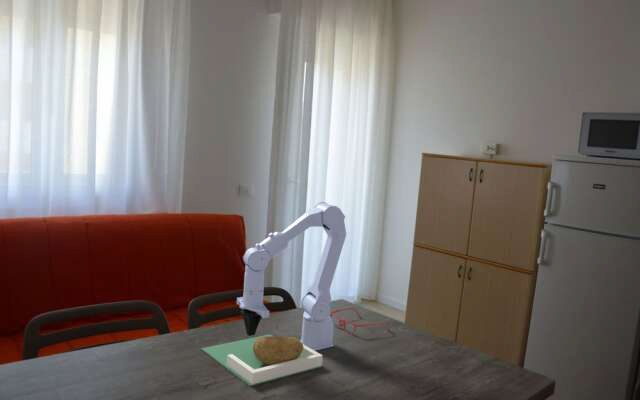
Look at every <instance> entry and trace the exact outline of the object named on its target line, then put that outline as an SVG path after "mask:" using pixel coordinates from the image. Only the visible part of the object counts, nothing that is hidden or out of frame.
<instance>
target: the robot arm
mask: <svg viewBox="0 0 640 400" xmlns="http://www.w3.org/2000/svg"><path fill="white" fill-rule="evenodd" d="M345 219H346V216H345V214H344V213H343V211H342V210H341V208H339V207H338V206H336V205H331V204H329V203H327V202H325V201H321V202H317V203H316V204H315V205H314V206H311V207H310V208H309V209H308V210H306V212H305V213H304V214H302V215H301V216H300V217H299V218H298V219H297V220H295V221H293V222H292V223H291V224H290V225H289V226H288V227H286V228H285V229H284V230H283V231H274V232H270V233H268V234H267V236H268V237H267V238H264V240H262V241H261V242H260V243H258V242H257V243H256V244H255V247H250V248H248V249H247V250H246V251H245V253H244V254H243V255H242V260H243V262H244V264H245V267H244V271H245V272H244V276H243V277H244V279H243V281H244V282H243V295H242V296H240V297H236V305H239V308H240V309H241V310H240V311H239V312H240V314H241V317H242V319H243V322H244V326H245V331H246V335H247V336H249V337H250V336H255V335H256V333H257V329H258V326H259V324H260V321H261V320H262V319H266V318H267V319H268V318H270V310H268V308H267V307H266V306H265V305H264V288H265V269H266V268H268V267H267V266H268V264H269V263H270V261H271V260H273V259H274V258H275V257H276V256H278V255H280V254H281V253H282V252H283V251H284V250H286V249H287V248H288V245H289V242H290V241H291V240H293V239H294V238H296V237H297V236H299V235H301V234H302V233H303V232H305V231H307V230H308V229H309V228H311V227H312V228H313V227H315V228H317V227H321V228H323V231H325V233H326V235H327V237H326V240H325V244H324V246H323V250H322V253H321V257H320V260H319V264H318V266H317V270H316V273H315V276H314V278H313V279H314V280H313V283H312V284H311V285H310V286H309V287H308V288H307V291H306V293H305V294H304V295H303V297H302V299H301V303H300V304H301V308H302V310H303V315H302V325H301V326H302V328H301V337H300V338H301V339H299V340H300V341H301V343H302V344H303V345H305V346H307V347H309V348H310V349H312V350H314V351H316V352H317V351H320V350H325V349H327V348H332V347H334V346H335V344H333V338H334V328H335V325H334V324H335V323H334V320H333V318H332V319H331V317H332V316H331V317H330V312H332V309H331V301H332V297H331V296H332V295H331V291H330V290H331V287H332V283H333V279H334V277H335V274H336V269H337V266H338V264H339V263H338V262H339V260H340V256H341V254H342V251H343V246H344V244H345V241H346V237H347V230H346V224H345Z"/></svg>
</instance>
